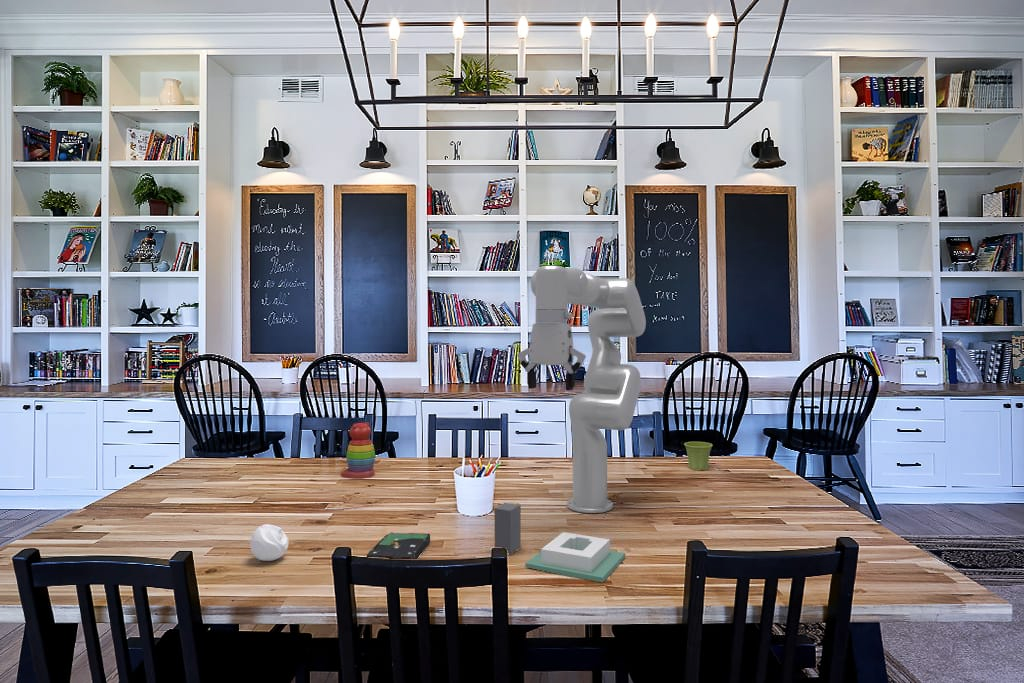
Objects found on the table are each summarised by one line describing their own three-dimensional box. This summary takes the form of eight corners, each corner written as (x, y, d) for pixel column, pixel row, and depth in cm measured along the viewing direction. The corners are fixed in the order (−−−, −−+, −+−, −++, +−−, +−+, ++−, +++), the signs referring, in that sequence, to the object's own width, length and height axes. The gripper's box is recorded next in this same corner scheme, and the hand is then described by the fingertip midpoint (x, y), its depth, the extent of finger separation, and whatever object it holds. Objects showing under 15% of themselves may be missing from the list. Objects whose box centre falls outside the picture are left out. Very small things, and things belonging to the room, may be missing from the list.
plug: (507, 544, 149) (507, 501, 149) (523, 546, 147) (522, 503, 147) (494, 552, 144) (494, 508, 143) (510, 555, 142) (510, 510, 142)
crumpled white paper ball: (282, 566, 136) (281, 530, 136) (245, 567, 136) (244, 531, 136) (292, 552, 144) (291, 518, 144) (257, 553, 144) (256, 519, 143)
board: (553, 545, 148) (553, 528, 148) (625, 557, 140) (625, 539, 140) (525, 567, 135) (525, 549, 135) (602, 582, 127) (602, 562, 127)
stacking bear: (367, 470, 224) (366, 419, 223) (382, 475, 216) (381, 422, 216) (338, 475, 217) (337, 422, 216) (353, 480, 209) (352, 426, 209)
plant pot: (707, 473, 217) (708, 447, 217) (680, 469, 222) (680, 444, 222) (715, 467, 225) (715, 443, 225) (689, 464, 230) (689, 440, 230)
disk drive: (413, 569, 136) (430, 544, 151) (413, 556, 136) (430, 532, 151) (366, 567, 137) (388, 542, 152) (365, 554, 137) (387, 530, 152)
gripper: (590, 318, 154) (590, 389, 154) (525, 318, 161) (524, 386, 162) (579, 317, 147) (578, 392, 147) (511, 317, 155) (511, 388, 155)
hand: (550, 389), depth 154 cm, fingers open, 9 cm apart
